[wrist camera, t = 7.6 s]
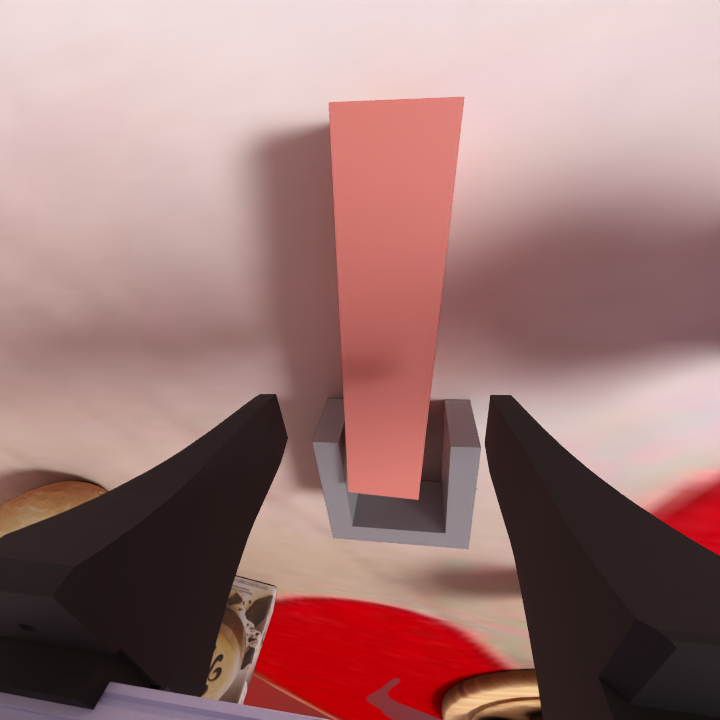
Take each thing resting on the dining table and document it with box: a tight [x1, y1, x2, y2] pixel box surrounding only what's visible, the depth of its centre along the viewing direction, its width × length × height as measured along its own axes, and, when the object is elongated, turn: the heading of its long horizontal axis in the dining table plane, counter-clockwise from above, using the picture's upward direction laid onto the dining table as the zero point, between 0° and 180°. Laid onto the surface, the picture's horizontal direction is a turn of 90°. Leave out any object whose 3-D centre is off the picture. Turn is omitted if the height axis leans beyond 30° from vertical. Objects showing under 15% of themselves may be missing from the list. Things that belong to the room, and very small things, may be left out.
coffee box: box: [201, 576, 277, 705], centre depth 31 cm, size 9×6×16 cm
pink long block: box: [329, 97, 464, 500], centre depth 17 cm, size 4×18×5 cm, turn 1°
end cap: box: [312, 399, 481, 549], centre depth 22 cm, size 9×9×4 cm
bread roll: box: [0, 481, 107, 538], centre depth 31 cm, size 10×15×8 cm, turn 132°
